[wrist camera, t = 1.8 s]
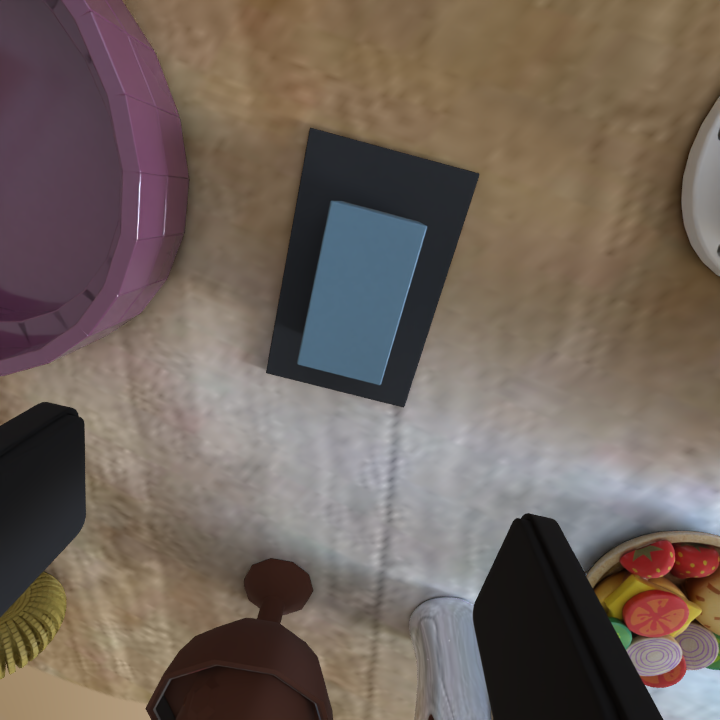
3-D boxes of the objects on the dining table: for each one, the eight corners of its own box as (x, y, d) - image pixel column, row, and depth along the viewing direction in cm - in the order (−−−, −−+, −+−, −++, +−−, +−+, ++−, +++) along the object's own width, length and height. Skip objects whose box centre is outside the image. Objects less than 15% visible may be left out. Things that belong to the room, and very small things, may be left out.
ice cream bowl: (286, 651, 36) (223, 941, 22) (184, 578, 33) (37, 851, 19) (375, 591, 33) (368, 884, 19) (269, 506, 30) (168, 769, 16)
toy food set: (799, 566, 29) (847, 607, 26) (671, 672, 34) (699, 718, 31) (645, 493, 28) (676, 528, 25) (532, 614, 32) (547, 656, 29)
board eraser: (340, 200, 22) (330, 200, 18) (419, 221, 22) (427, 226, 18) (311, 338, 25) (296, 364, 21) (381, 356, 25) (380, 386, 21)
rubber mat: (311, 128, 21) (309, 127, 21) (478, 174, 22) (479, 173, 21) (267, 370, 26) (265, 373, 26) (403, 404, 27) (404, 407, 26)
